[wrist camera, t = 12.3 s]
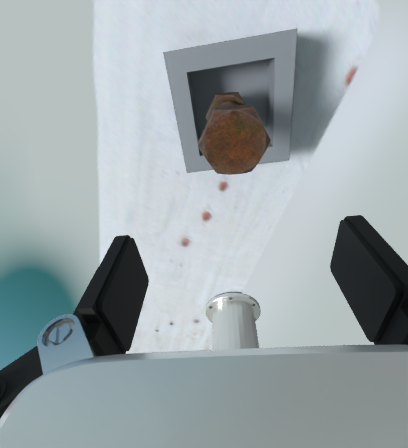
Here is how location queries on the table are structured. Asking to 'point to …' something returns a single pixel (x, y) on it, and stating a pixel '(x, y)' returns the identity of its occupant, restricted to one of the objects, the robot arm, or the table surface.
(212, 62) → the socket block
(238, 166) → the bolt
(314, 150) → the table surface
